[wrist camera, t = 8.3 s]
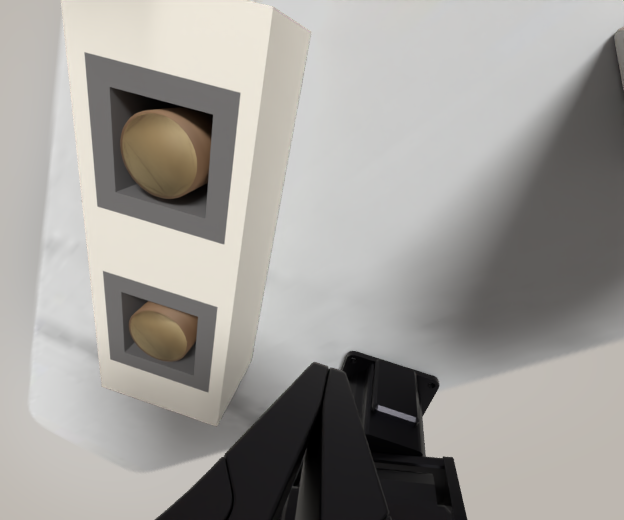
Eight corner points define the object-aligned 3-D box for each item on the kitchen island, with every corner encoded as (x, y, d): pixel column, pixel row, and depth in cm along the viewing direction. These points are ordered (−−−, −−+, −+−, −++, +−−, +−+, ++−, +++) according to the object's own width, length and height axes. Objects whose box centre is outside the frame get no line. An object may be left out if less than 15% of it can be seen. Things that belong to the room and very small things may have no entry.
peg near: (246, 177, 20) (196, 208, 15) (188, 161, 21) (122, 186, 16) (254, 113, 19) (202, 122, 14) (192, 96, 19) (118, 100, 14)
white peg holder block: (251, 361, 27) (217, 426, 22) (157, 330, 28) (101, 386, 23) (311, 31, 17) (273, 6, 11) (158, -5, 17) (56, -45, 12)
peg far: (229, 312, 25) (186, 369, 20) (182, 297, 25) (129, 350, 20) (234, 270, 23) (190, 320, 18) (184, 254, 24) (127, 300, 19)
